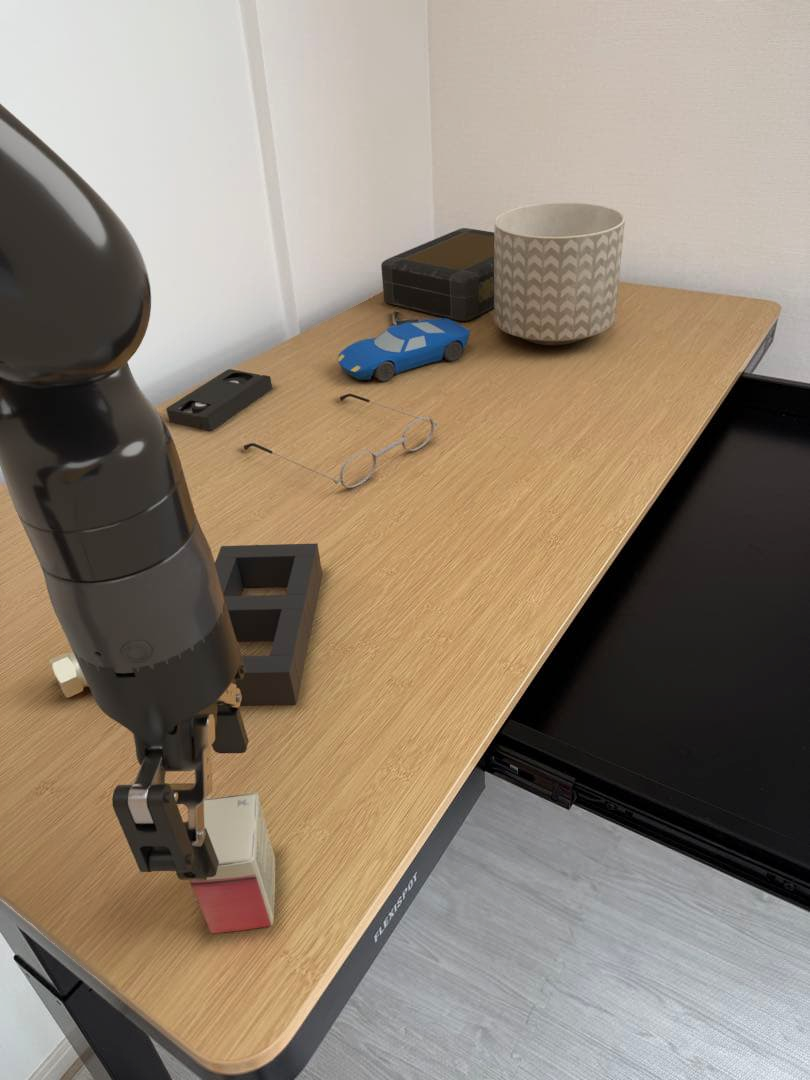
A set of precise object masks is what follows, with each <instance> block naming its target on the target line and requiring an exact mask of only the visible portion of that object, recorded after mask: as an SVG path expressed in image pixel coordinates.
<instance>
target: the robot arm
mask: <svg viewBox="0 0 810 1080" xmlns="http://www.w3.org/2000/svg"><path fill="white" fill-rule="evenodd" d="M151 289H152V288H151V283H150V277H149V273H148V270H147V266H146V262H145V260H144V257H143V254H142V252H141V250H140V248H139V246H138V243H137V242H136V240H135V238H134V236H133V234H132V233H131V231H130V230H129V228H128V227H127V225H126V224H125V223H124V221H123V220H122V219H121V218H120V217H119V215H118V214H117V213H116V212H115V210H114V209H113V208H112V207H111V206H110V204H109V203H108V202H106V200H105V199H104V198H103V197H102V196H101V195H100V194H99V193H98V192H97V191H96V190H95V189H94V188H93V187H92V186H91V184H89V183H88V182H87V181H86V180H85V179H84V178H83V177H82V176H81V175H80V174H79V173H78V172H77V171H76V170H75V169H74V168H73V167H72V166H71V165H69V163H67V162H66V161H65V160H64V159H63V158H62V157H61V156H60V155H59V154H58V153H57V152H55V150H53V148H51V147H50V146H49V145H48V144H47V143H46V142H44V140H42V139H41V138H40V137H39V136H38V135H37V134H36V133H35V132H33V130H32V129H30V128H29V127H28V126H27V125H26V124H25V123H24V122H22V121H21V120H20V119H19V118H17V117H16V115H14V114H13V113H12V112H11V111H10V110H8V108H6V107H5V106H4V105H3V104H2V103H0V470H1V473H2V475H3V478H4V480H5V484H6V487H7V491H8V494H9V496H10V499H11V502H12V505H13V507H14V509H15V512H16V513H17V516H18V518H19V520H20V522H21V524H22V527H23V529H24V532H25V534H26V536H27V539H28V540H29V542H30V545H31V547H32V549H33V552H34V554H35V557H36V558H37V560H38V563H39V565H40V568H41V571H42V574H43V577H44V582H45V586H46V589H47V593H48V597H49V600H50V604H51V606H52V608H53V612H54V613H55V616H56V619H57V620H58V622H59V625H60V627H61V629H62V631H63V633H64V635H65V637H66V639H67V641H68V645H69V646H70V648H71V650H72V651H71V652H73V653H74V655H75V657H76V659H77V662H78V664H79V666H80V668H81V670H82V673H83V675H84V677H85V679H86V681H87V683H88V686H89V687H88V686H87V687H88V688H89V690H90V693H91V694H92V696H93V698H94V701H95V704H96V705H97V706H98V708H99V709H100V710H101V711H102V712H103V713H104V714H105V715H106V716H107V717H108V718H110V719H112V720H113V721H115V723H118V724H119V725H121V726H122V727H124V728H125V729H126V730H128V731H129V732H130V733H132V734H133V739H134V746H135V756H136V759H137V762H138V764H139V770H138V773H137V775H136V777H135V780H134V781H133V784H118V785H116V787H115V788H114V790H113V794H112V798H111V799H112V801H111V803H112V809H113V811H114V814H115V815H116V818H117V820H118V823H119V826H120V828H121V830H122V832H123V835H124V836H125V839H126V841H127V844H128V847H129V849H130V851H131V853H132V856H133V858H134V860H135V863H136V866H137V867H138V870H139V872H140V873H153V872H175V873H176V876H177V878H178V879H179V880H181V881H189V880H207V877H214V876H215V875H216V873H217V868H218V864H219V861H218V858H217V855H216V853H215V850H214V848H213V845H212V842H211V840H210V837H209V835H208V832H207V830H206V828H205V823H204V800H205V799H208V798H209V797H210V796H211V795H212V792H213V765H212V764H213V761H212V760H213V759H212V749H213V751H214V752H215V753H216V754H222V755H223V754H224V755H225V754H244V753H246V751H247V749H248V745H249V740H250V739H249V737H248V734H247V729H246V727H245V723H244V720H243V717H242V714H241V710H240V706H241V705H240V703H241V700H242V695H241V692H240V689H239V688H236V686H237V685H236V684H235V683H236V679H243V677H244V673H245V666H244V661H243V658H242V656H243V655H242V652H241V648H240V646H239V641H238V642H237V639H236V636H235V633H234V630H233V626H232V622H231V619H230V615H229V612H228V608H227V605H226V601H225V597H224V594H223V590H222V587H221V583H220V580H219V576H218V572H217V569H216V565H215V558H214V555H213V552H212V549H211V547H210V545H209V542H208V540H207V538H206V536H205V533H204V532H203V530H202V527H201V525H200V522H199V520H198V517H197V514H196V512H195V508H194V504H193V500H192V497H191V494H190V490H189V487H188V484H187V483H188V482H187V480H186V476H185V473H184V469H183V466H182V462H181V458H180V456H179V453H178V450H177V449H178V448H177V447H176V443H175V442H174V439H173V437H172V434H171V432H170V430H169V428H168V426H167V424H166V422H165V421H164V418H163V417H162V415H161V414H160V413H159V411H158V410H157V409H156V408H155V406H154V405H153V404H152V403H151V402H150V400H149V399H148V398H147V396H146V395H145V393H144V392H143V391H142V390H141V388H140V387H139V385H138V383H137V381H136V379H135V378H134V375H133V373H132V370H131V368H130V366H129V363H128V362H129V361H130V360H131V358H132V357H133V356H134V355H135V353H136V352H137V351H138V349H139V348H140V346H141V345H142V343H143V341H144V337H145V336H146V333H147V329H148V327H149V323H150V320H151V319H150V318H151V311H152V290H151ZM192 771H194V782H192V783H191V782H188V783H187V782H185V783H183V782H182V783H181V782H180V783H178V782H177V783H176V782H175V783H168V782H166V772H192ZM178 805H184V806H185V807H186V808H187V821H184V820H183V818H182V815H181V812H180V808H179V806H178Z"/></svg>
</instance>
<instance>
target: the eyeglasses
mask: <svg viewBox="0 0 810 1080" xmlns="http://www.w3.org/2000/svg"><path fill="white" fill-rule="evenodd" d="M350 397H351V398H353V399H357V400H360V401H363V402H366V403H372V404H375V405H378V406H379V407H384V408H386V409H389V410H392V411H395V412H398V413H400V414H404V415H407V416H410V417H412V418H416V419H415V420H413V421H411V422H410V423H409V424H408V425H407V426H406V428H405V429H404V431H403V432H402V436H401V438H400V439H398V440H396V441H394V442H392V443H390V444H389V445H387V446H386V447H384V448H382V449H380V450H379V451H377V452H376V453H374V452H373V451H371V450H363V451H360V452H357V453H356V454H354V455H352V456H350V457H349V458H348V459H347V460H346V461H345V462H344V463H343V465H342V466H341V469H340V473H339V478H333V477H330V476H327V475H326V474H323V473H321V472H318V471H316V470H314V469H311V468H310V467H308V466H305V465H303V464H300V463H298V462H296V461H294V460H291V459H289V458H287V457H285V456H283V455H280V454H277V453H276V452H274V451H273V450H271V449H269V448H266V447H264V446H262V445H259V444H258V443H256V442H250V443H248V444H245V445H243V449H244V450H245V451H247V450H248V449H249V448H251V447H254V448H256V449H259V450H262V451H264V452H266V453H268V454H271V455H275V456H277V457H280V458H282V459H284V460H287V461H289V462H291V463H293V464H295V465H297V466H301V468H305V469H307V470H309V471H311V472H314V473H316V474H319V475H321V476H322V477H325V478H328V479H330V480H332V481H333V482H334V484H336V485H337V484H339V483H341V485H342V487H345V488H346V489H353V488H356V487H359V486H361V485H363V484H364V483H366V481H368V479H370V477H371V476H372V474H374V471H375V470H376V468H377V467H376V466H377V459H378V458H379V457H381V456H383V455H384V454H387V452H389V451H391V450H392V449H394V448H396V447H397V446H399V445H402V446H401V447H403V449H404V450H406V451H408V452H415V451H418V450H421V449H422V448H423V447H424V446H426V445H427V444H428V443H429V442H430V440H431V439H432V437H433V435H434V432H435V427H436V426H437V425H438V422H437V421H436V420H435V421H434V420H433V419H432V418H431V417H430V416H421V417H418V416H416V415H412V414H410V413H407V412H403V411H401V410H398V409H396V408H395V409H394V408H393V407H390V406H386V405H383V404H380V403H377V402H374V401H371V400H370V399H368V398H365V397H363V396H360V395H356V394H353V393H346V394H343V395H341V396H339V400H340V401H341V402H342V401H344V400H345V399H347V398H350ZM427 419H428V420H427ZM419 421H425V422H428V423H430V433H429V435H428V437H427V438H426V439H425V441H423V443H421V444H420V445H419V446H417V447H415V448H411V449H408V448H407V446H406V444H405V443H406V441H407V438H406V435H407V433H408V431H409V430H410V428H411V427H412V426H413V425H415V424H416V423H418V422H419ZM365 453H369V454H371V456H372V462H373V463H372V466H371V469H370V471H368V472H369V473H367V475H366V476H365V477H364V478H363V479H362V480H360V481H359V482H357V483H355V484H352V485H346V484H345V482H344V472H345V470H346V467H347V466H348V465H349V463H350V462H351V461H353V460H354V459H355V458H357V457H358V456H360V455H363V454H365Z"/></svg>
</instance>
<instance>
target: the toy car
mask: <svg viewBox="0 0 810 1080" xmlns="http://www.w3.org/2000/svg"><path fill="white" fill-rule="evenodd" d="M469 337H470V330H469V329H468V328H467V327H465V326H463V325H461V324H459V323H457V322H455V321H453V319H451V318H446V317H443V318H427V319H421V320H419V321H417V322H409V323H404V324H400V325H396V326H394V325H392V326H389V327H387V328H386V330H384V331H383V332H381V333H380V334H379V335H377V337H371V338H365V339H362V340H361V339H360V340H359V341H356V342H353V343H352V344H349V345H348V346H346V347H345V348H344V349H342V350H341V351H340V352H339V354H338V356H337V362H338V365H339V366H340V367H341V369H342V370H343V372H345V373H346V374H347V375H349V376H351V377H353V378H355V379H357V380H368V381H370V380H371V379H372V377H374V378H375V379H376V380H378V381H379V382H382V383H383V382H385V383H386V382H388V381H390V380H391V379H392V378H393V377H394V375H396V374H399V373H403V372H405V371H408V370H411V369H414V368H418V367H421V366H424V365H427V364H431V363H435V362H440V361H442V360H443V358H444V359H445V360H447V361H449V362H454V361H457V360H458V359H459V358H460V356H461V355H462V352H463V350H464V349H465V348H466V345H467V344H468V341H469Z"/></svg>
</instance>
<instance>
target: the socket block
mask: <svg viewBox="0 0 810 1080" xmlns="http://www.w3.org/2000/svg"><path fill="white" fill-rule="evenodd" d="M214 562H215V565H216V569H217V572H218V576H219V580H220V583H221V587H222V590H223V594H224V597H225V601H226V605H227V608H228V612H229V615H230V619H231V622H232V626H233V630H234V633H235V636H236V639H237V642H238V643H239V642H272V646H271V650H270V654H269V655H242V658H243V661H244V666H245V673H244V677H243V679H236V683H235V684H236V685H237V686H236V688H239V689H240V692H241V695H242V700H241V703H240V706H294V705H297V703H298V698H299V694H300V693H299V692H300V688H301V684H302V678H303V673H304V670H305V669H304V667H305V662H306V659H307V658H306V657H307V654H308V648H309V643H310V638H311V632H312V627H313V623H314V618H315V614H316V607H317V603H318V597H319V593H320V589H321V582H322V578H323V570H322V562H321V557H320V550H319V544H318V543H317V542H316V543H284V544H283V543H282V544H281V543H279V544H277V543H276V544H247V545H246V544H244V545H242V544H241V545H221V546H220V548H219V551H218V554H217V556H216V559H215V560H214ZM248 588H251V589H253V588H255V589H256V588H286V589H285V594H268V595H267V594H266V595H265V594H264V595H259V594H258V595H242V594H243V591H244V589H248Z"/></svg>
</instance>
